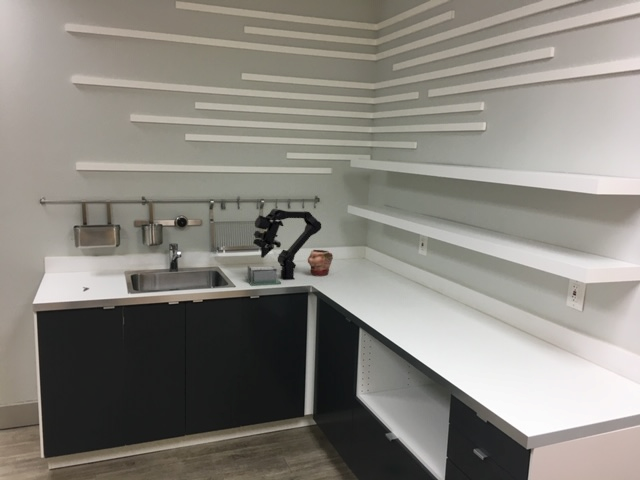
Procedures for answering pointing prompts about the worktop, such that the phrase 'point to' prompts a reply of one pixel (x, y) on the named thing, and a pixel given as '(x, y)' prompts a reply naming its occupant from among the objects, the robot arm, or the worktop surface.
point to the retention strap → (262, 268)
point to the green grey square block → (262, 277)
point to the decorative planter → (320, 262)
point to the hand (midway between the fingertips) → (262, 257)
